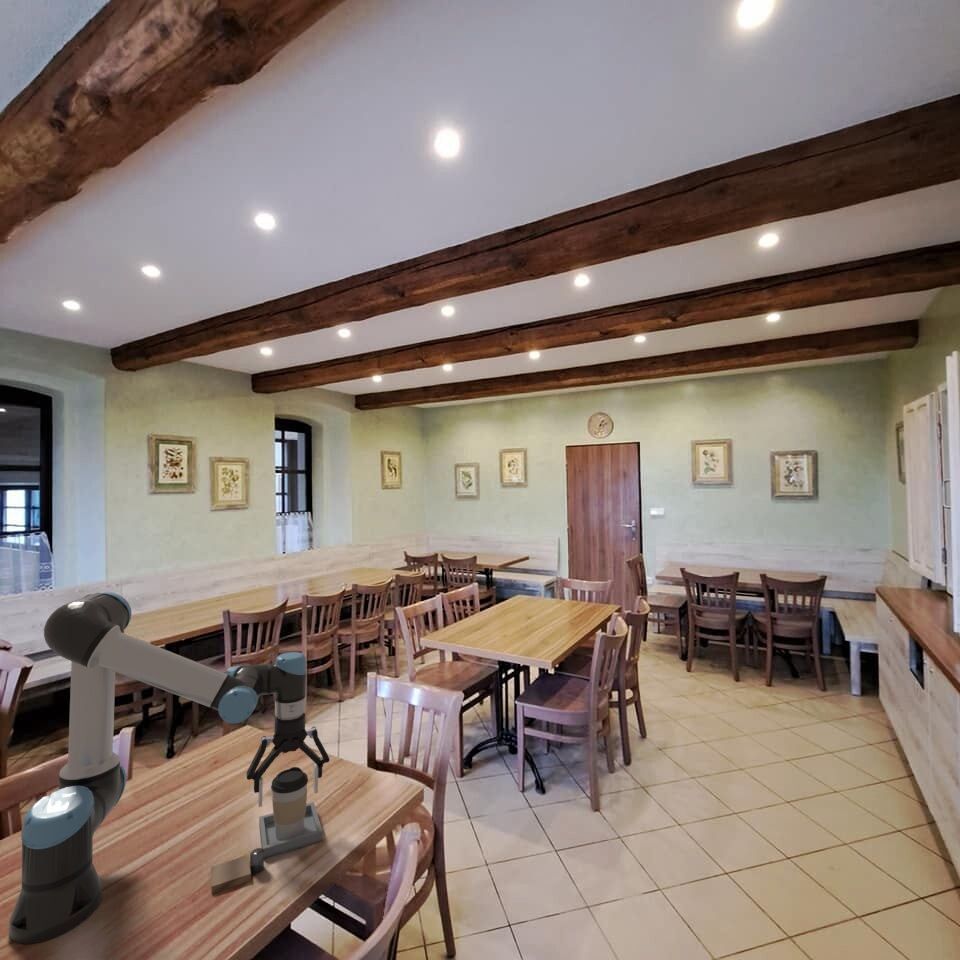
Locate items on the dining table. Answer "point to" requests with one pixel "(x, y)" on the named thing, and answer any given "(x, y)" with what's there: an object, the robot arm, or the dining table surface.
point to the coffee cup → (289, 802)
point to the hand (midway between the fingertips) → (288, 797)
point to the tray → (277, 847)
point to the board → (230, 874)
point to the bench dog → (257, 861)
